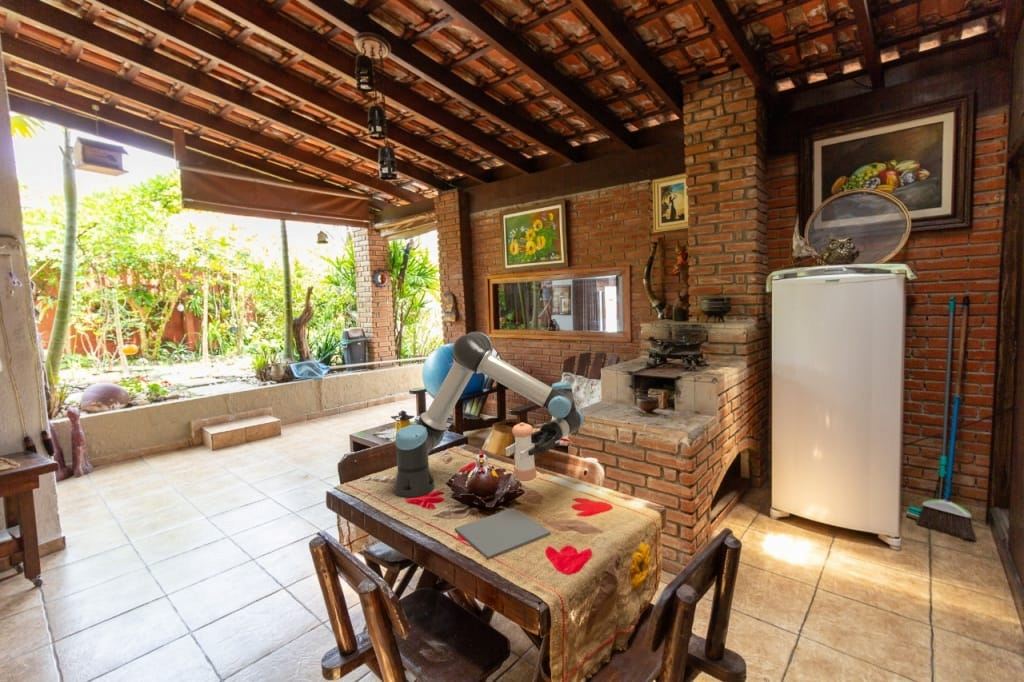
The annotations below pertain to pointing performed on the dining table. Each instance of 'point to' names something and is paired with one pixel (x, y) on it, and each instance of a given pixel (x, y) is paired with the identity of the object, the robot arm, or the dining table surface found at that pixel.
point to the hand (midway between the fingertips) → (513, 454)
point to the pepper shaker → (522, 441)
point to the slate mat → (501, 532)
